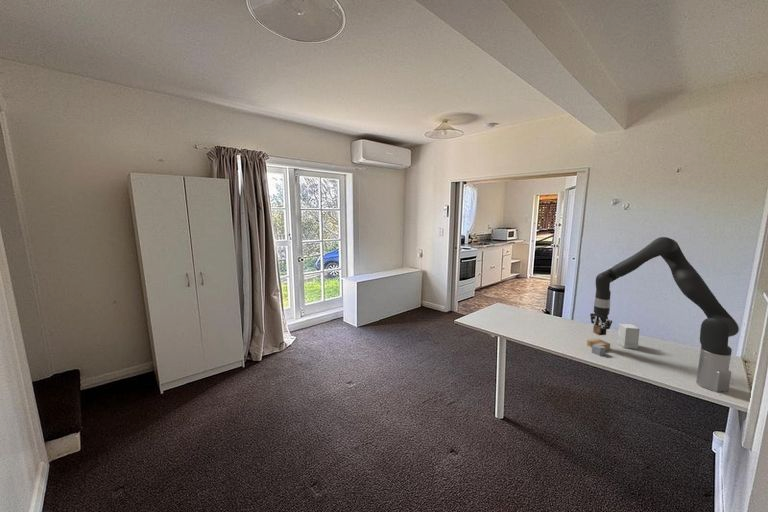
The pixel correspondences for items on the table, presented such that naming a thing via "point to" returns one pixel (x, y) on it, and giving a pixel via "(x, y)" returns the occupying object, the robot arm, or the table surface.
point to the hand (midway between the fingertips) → (599, 332)
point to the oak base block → (598, 341)
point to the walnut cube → (597, 329)
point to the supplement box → (628, 336)
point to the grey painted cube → (598, 349)
